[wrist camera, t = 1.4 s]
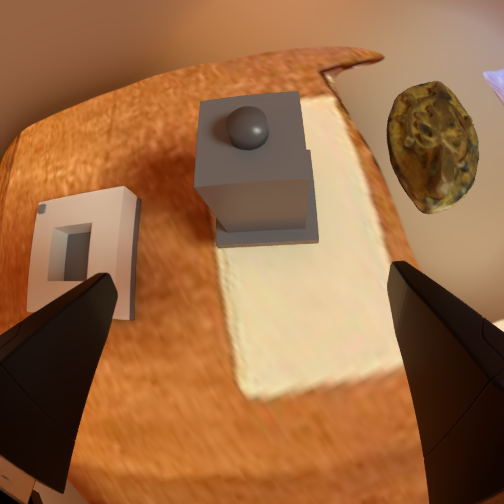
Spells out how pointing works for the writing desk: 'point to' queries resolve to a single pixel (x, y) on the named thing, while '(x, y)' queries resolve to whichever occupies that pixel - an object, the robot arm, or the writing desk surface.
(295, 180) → the grey block with knob
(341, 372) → the writing desk surface
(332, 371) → the writing desk surface
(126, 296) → the socket
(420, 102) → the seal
